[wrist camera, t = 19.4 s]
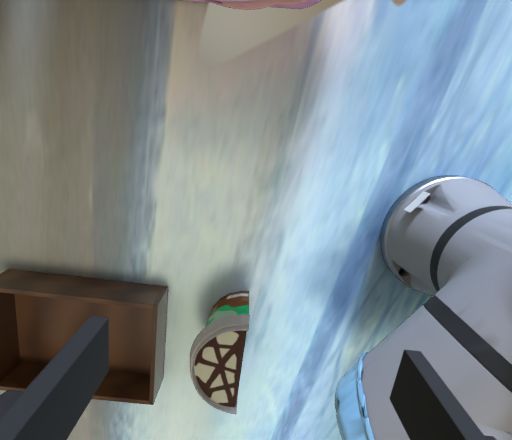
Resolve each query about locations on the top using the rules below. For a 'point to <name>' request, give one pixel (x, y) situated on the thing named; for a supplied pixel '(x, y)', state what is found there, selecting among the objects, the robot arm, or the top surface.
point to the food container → (221, 352)
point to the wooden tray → (70, 321)
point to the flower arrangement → (262, 3)
